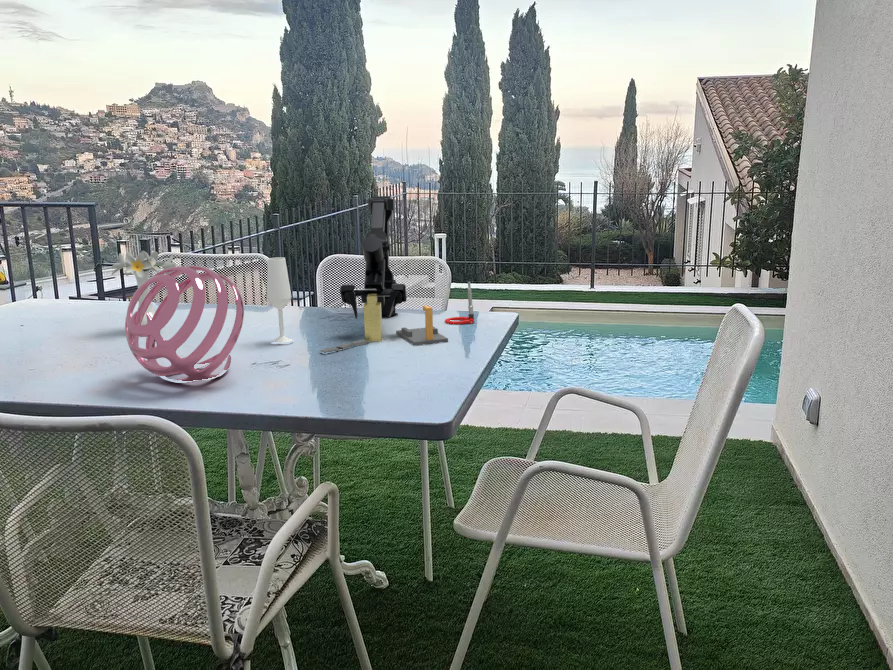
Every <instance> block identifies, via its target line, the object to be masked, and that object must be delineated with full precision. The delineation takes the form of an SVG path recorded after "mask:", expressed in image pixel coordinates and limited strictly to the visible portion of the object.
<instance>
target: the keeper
mask: <svg viewBox="0 0 893 670" xmlns="http://www.w3.org/2000/svg"><path fill="white" fill-rule="evenodd" d="M422 311H423V312H424V318H425V319H424V322H425V323H424V324H425V327H419V328H409V329H408V328H407V327H401V328H400V330H395V333H396V335H397V336H399V337H400V336H401V337H400V338H401V339H403V338H404V339H403V340H405V339H406V340H407V341H406V340H405V341H406V342H408V341H409V342H410V343H409V342H408V343H409V344H411V343H412V344H413V346H414V345H417V346H422V345H423V344H426V345H432V343H435V344H440V343H439V342H443V343H448V342H449V338H448V337H446V336H444V335H442V333H441V334H440V333H439V329H438V328H437V327H435V326H433V325H434V320H433V318H434V317H433V307H431V306H428V305H423V306H422ZM412 344H411V345H412ZM423 346H424V345H423Z"/></svg>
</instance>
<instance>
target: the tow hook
mask: <svg viewBox="0 0 893 670" xmlns="http://www.w3.org/2000/svg"><path fill="white" fill-rule="evenodd" d="M471 285H472V284H471V281H467V300H468V307H467V309H468V316H453V317H448V318H445V319H444V323H445V322H446V323H449V324H448V325H452V324H456V325H464V324H470V325H472V324H471V323H473V324H474V321H475V315H474V306H473V293H472V291H473V290H472V287H471ZM450 320H454V321H450ZM446 323H445V324H446Z"/></svg>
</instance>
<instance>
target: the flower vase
mask: <svg viewBox="0 0 893 670" xmlns="http://www.w3.org/2000/svg"><path fill="white" fill-rule="evenodd" d="M124 255H125V256H124ZM158 258H159V252H157V251H153V252H152V253H151V254H150V255H149V254H148V252H146V251H145V250H141V252H140V253H139V254H137V256H136V257H134V256H133V254H132V252H130V251H127V252H126V254H124V252H123V253H121V252H120V253H119V254H118V256H117V261H118V262H115V263H114V264H113V265H112V266H111V269H114V270H113V271H112V272H111V276H113V275H115V274H116V273H117V272H118V271H120V270H121V269H124V274H125V276H126V277H129V276H130V275H131V274H133V275H134V277H135V279H136V284H137V285H136V286H137V289H138V288H139V287H140V286H141V285H142V284H143V283H144V282H145V281H147V280H148V279H149V274H150V271H149V270H152V271H153V272H156V273H158V272H160V271H162V270H164V269H167V268H170V267H176V266H177V265H176V263H175V262H172V261H173V259H174V254H171V255H170V256H169V258H168V259H167V260H166V261H165V262H163V261H162V260H157V259H158ZM160 267H161V268H162V269H161V268H160ZM171 272H172V271H171ZM171 272H168V273H165V275H168V274H169V273H171ZM149 291H150V288H149V286H148V287H147V289H146V290H145V291H144V292H143V294H142V295H141V297H140V298H139V300H138V304H137V305H138V306H137V309H136V311H138V309H139V307H140V305H141V303H142V301H143V300H144V298H145V297H146V295H147V294H148V293H149ZM156 310H157V309H155V307H154V306H153V303H152V302H151V303H150V305H149V307H148V308H147V310H146V312H145V315H144V317H143V320H142V323H141V325H146V324H147V316H146V313H147V312H148V313H149V314H150V316H151V318H153V316H154V314H155V312H156Z"/></svg>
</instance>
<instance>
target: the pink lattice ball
mask: <svg viewBox="0 0 893 670" xmlns="http://www.w3.org/2000/svg"><path fill="white" fill-rule="evenodd" d="M161 270H162V271H158V273H157V272H156V273H155V274H153V275H152V276H150V277H149V278H148V280H147V281H145V282H144V283H143V284H142V285H141V286H140V287H139V288H138V287H137V289H136V290H135V292H134V293H133V295H132V296H131V299H130V300H129V303H128V306H127V309H126V314H125V315H126V316H125V321H124V333H125V334H124V335H125V338H126V342H127V345H128V348H129V349H130V351H131V354H132V355H133V357H134V358H135V360H136V361H137V362H138V363H139V364H140V365H141V366H142V368H144V369H145V370H147V372H149V373H151V374H154V375H156V376H157V375H158V376H167V377H168V376H173V375H177V374H182V375H183V374H184V375H186V376H187V377H184V378H179V379H178V378H176V379H177V380H182V381H193V380H202V379H208V378H212V377H216V376H217V375H219V373H217V374H212V373H213V372H214V371H216V370H217V369H218V368H219V367H220V366H221V365H222V364H223V362H225V360H226V359H227V360H226V363H225V365H224V367H223V369H224V370H227V369H228V368H229V369H230V367H231V364H232V363H231V362H232V356H231V355H230V354H231V353H232V351H233V349H234V348H235V345H236V343H237V342H238V339H239V337H240V334H241V331H242V328H243V323H244V315H245V305H244V301H243V296H242V294H241V292H240V290H239V288H238V287H237V286H236V284H235V283H234V282H233V281H232V280H231V279H230V278H228V277H226V276H224V275H223V274H221V273H217V272H215V271H214V270H212V269H210V268H208V267H205V266H201V265H199V266H198V265H189V266H182V265H178V266H177V265H176V266H175V267H170V268H167V269H164V268H163V269H161ZM197 271H201V272H202V273H198V272H197ZM168 272H171V273H169V274H168V275H166V273H168ZM183 274H185V275H186V277H188V278H186V279H184V280H183V281H181V282H180V283H178V281H177V279H176V278H177V277H179V276H181V275H183ZM209 280H212V281H213V282H214V285H215V288H216V292H217V295H216V296H217V304H216V310H215V314H214V317H213V320H212V323H211V326H210V327H209V329H208V331H207V333H206V334H205V336H204V338H203V339H202V341H201V342H200V343H199V344H198V346H197V347H196V348H195V349H194V350H193V351H192V352H191V353H190V354H188V355H187V356H186V357H180V355H178V354H177V350H178V349H179V348H180V347H181V346H182V345H183V344H185V342H186V341H187V340H188V339H189V338H190V336H191V335H192V333H193V332H194V331H195V329H196V328H197V326H198V323H199V322H200V320H201V318H202V314H203V313H204V308H205V302H206V287H205V283H204V281H209ZM154 283H155V285H153V286H152V288H151V289H149V293H148V294H147V295H146V297H145V298H144V300H143V301H142V303H141V305H140V307H139V309H138V308H137V309H138V311H137V310H136V311H135V307H136V306H137V305H138V303H139V298H140V297H141V295H142V294H143V292H144V291H145V290H146V289H147V287H148V288H149V286H151V284H154ZM225 283H226V284H228V285H229V287H230V288H231V289H232V292H233V294H234V297H235V303H236V311H235V319H234V323H233V327H232V330H231V333H230V334H229V337H228V338H227V340H226V343H225V344H224V346H223V347H222V349H221V350H220V352H218V353H216V354H215V355H213V356H212V357H209V358H207V359H206V360H203V361H200V360H202V359H203V358H204V357H205V355H206V354H208V353H209V351H210V350H211V348H212V347H213V346H214V344H215V343H216V341H217V339H218V338H219V336H220V334H221V332H222V329H223V328H224V324H225V322H226V318H227V313H228V307H229V297H228V291H227V290H228V289H227V287H226V284H225ZM164 287H166V290H167V291H166V292H167V294H166V296H165V297H164V298H163V300H162V301H161V302H160V303H159V304H158V307H156V309H155V310H156V312H155V314H154V316H153V318H151V316H150V314H149V313H148V312H147V313H146V316H147V324H146V325H141V323H142V320H143V317H144V315H145V312H146V310H147V308H148V307H149V305H150V303H152V301H153V300H154V299H155V297H156V296H157V295H158V293H160V291H161V290H163V288H164ZM190 288H192V302H191V306H190V309H189V312H188V315H186V316H187V317H186V319H185V321H184V322H183V324H182V325H181V326H180V328H179V329H178V331H177V332H175V334H174V335H173V336H172V337H170V338H169V339H167V340H166V339H164V338H163V336H162V335H161V330H163V328H164V327H166V325H167V324H168V323H169V322H170V320H171V319H172V318H173V316H174V314H175V312H176V311H177V308H178V304H179V301H180V296H181V295H182V294H183V293H184V292H185V291H187V290H188V289H190ZM134 311H135V312H134ZM133 312H134V313H133ZM145 337H146V340H145V348H141V347H139V339H140V338H145ZM162 358H163V359H166V360H168V361H169V362H170V365H169V366H163V365H160V364H159V363H158V360H157V359H162ZM199 361H200V362H199ZM205 363H209V364H207V365H206V367H205V366H204V368H202V369H195V368H194V365H195V364H205ZM229 369H228V370H229ZM158 376H157V377H158Z"/></svg>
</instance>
